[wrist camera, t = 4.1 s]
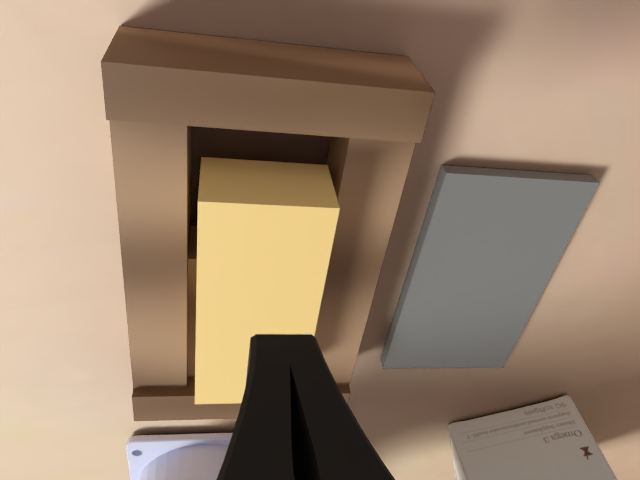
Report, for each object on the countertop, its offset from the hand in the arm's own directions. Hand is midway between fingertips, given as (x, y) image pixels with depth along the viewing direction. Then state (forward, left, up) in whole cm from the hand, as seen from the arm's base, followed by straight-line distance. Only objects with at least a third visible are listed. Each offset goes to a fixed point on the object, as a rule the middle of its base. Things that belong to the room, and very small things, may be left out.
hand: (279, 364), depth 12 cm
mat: (-5, -10, -9) cm, 15 cm away
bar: (-3, 0, -7) cm, 8 cm away
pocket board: (-3, 0, -9) cm, 10 cm away
